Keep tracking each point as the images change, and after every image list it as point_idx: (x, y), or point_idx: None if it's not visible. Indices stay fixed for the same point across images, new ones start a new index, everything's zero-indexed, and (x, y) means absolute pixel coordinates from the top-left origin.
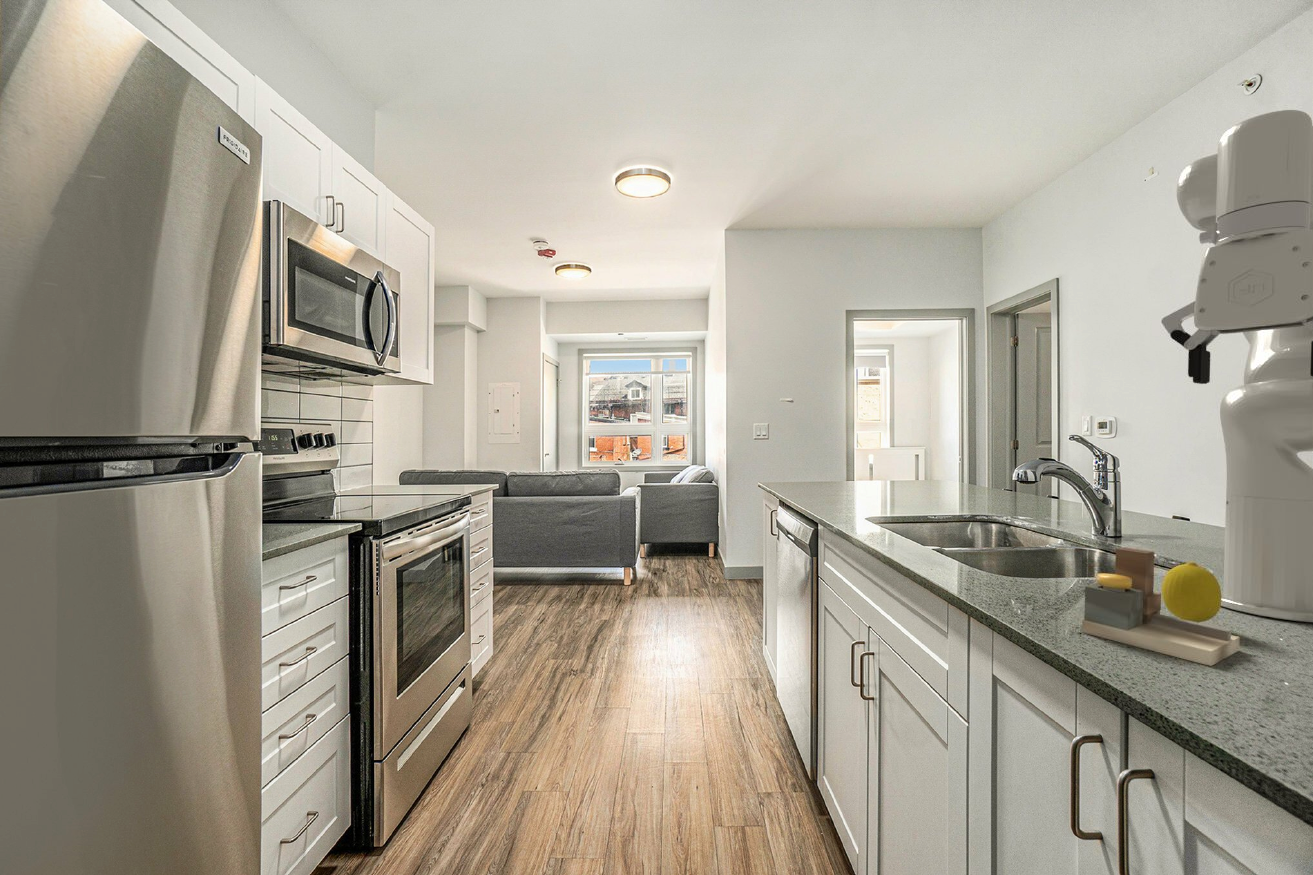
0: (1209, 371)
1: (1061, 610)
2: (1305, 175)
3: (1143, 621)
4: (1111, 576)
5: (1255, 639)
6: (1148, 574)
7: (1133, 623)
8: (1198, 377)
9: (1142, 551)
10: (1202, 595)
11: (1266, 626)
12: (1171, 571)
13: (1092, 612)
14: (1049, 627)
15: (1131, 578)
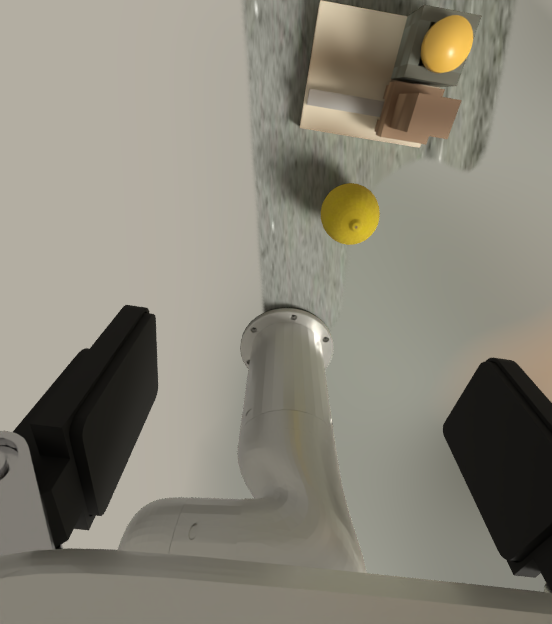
0: (461, 465)
1: (473, 144)
2: None
3: None
4: (453, 39)
5: (290, 201)
6: (404, 106)
7: (402, 41)
8: (501, 369)
9: (423, 112)
10: (338, 189)
11: (285, 271)
12: (374, 210)
13: None
14: (492, 14)
15: (425, 53)
